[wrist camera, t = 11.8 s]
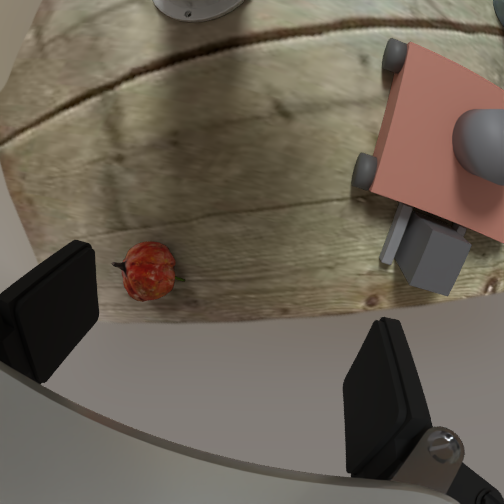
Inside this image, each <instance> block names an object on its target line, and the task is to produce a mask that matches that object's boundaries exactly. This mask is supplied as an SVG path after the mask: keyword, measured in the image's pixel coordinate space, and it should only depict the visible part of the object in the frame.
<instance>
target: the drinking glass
mask: <svg viewBox="0 0 504 504" xmlns="http://www.w3.org/2000/svg"><path fill="white" fill-rule="evenodd" d="M493 5H494V9H495V12H496V14H497V17H498V18H499V20H500V22H501V24H502V25H503V27H504V0H493Z"/></svg>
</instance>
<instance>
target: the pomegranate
mask: <svg viewBox="0 0 504 504" xmlns="http://www.w3.org/2000/svg"><path fill="white" fill-rule="evenodd" d="M175 263H176V262H175V259H174V257H173V256H172V254H171V253H170V251H169V249H168V248H167V247H166V246H165V245H163V244H161V243H158V242H153V241H149V242H142V243H138V244H136V245H135V246H133V247H132V248H131V249H130V250H129V251H128V253H127V255H126V258H125V259H124V260H123V262H122V263H116V262H113V263H111V264H112V265H113V266H115V267H118V268H120V269H121V270H122V276H123V283H124V287H125V289H126V290H127V292H128V294H129V296H130V297H132V298H133V299H135V300H137V301H142V302H143V301H147V300H154V299H158V298H161V297H163V296H165V295H166V294H167V293H169V292H170V291H171V290H172V289H173V286H174V281H175V279H177V280H180V281H185V279H182V278H178V277H176V276H175V272H174V266H175Z"/></svg>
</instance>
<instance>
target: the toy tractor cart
mask: <svg viewBox="0 0 504 504" xmlns="http://www.w3.org/2000/svg"><path fill="white" fill-rule="evenodd" d="M382 68H383V69H386V70H389V71H392V72H394V77H393V81H392V86H391V90H390V94H389V98H388V102H387V106H386V110H385V114H384V118H383V121H382V125H381V129H380V132H379V136H378V140H377V143H376V147H375V150H374V154H373V156H371V155H368V154H365V153H362V152H361V153H360V154H359V156H358V158H357V161H356V164H355V167H354V170H353V175H352V182H351V183H352V186H355V187H358V188H361V189H364V190H370V191H371V192H373V193H376V194H379V195H382V196H385V197H388V198H391V199H394V200H397V201H399V205H398V208H397V211H396V214H395V216H394V219H393V222H392V225H391V227H390V230H389V233H388V236H387V238H386V241H385V243H384V246H383V249H382V251H381V254H380V256H379V258H380V260H381V262H383V263H386V264H389V265H391V263H392V261H393V259H394V256H395V254H396V251H397V249H398V246H399V244H400V241H401V239H402V236H403V233H404V231H405V228H406V226H407V223H408V220H409V217H410V215H411V212H412V209H413V207H416V208H419V209H421V210H424V211H427V212H429V213H432V214H435V215H437V216H440V217H442V218H445V219H447V220H450V221H452V222H454V224H453V226H452V228H453V229H454V230H455V231H456V232H458V233H459V234H460V235H461V236H462V237H464V235H465V232H466V230H467V229H466V228H465V227H467V228H469V229H472V230H474V231H476V232H479V233H481V234H483V235H486V236H488V237H490V238H493V239H495V240H497V241H499V242H501V243H503V244H504V90H503V89H501V88H499V87H498V86H496V85H495V84H493V83H491V82H490V81H488V80H486V79H485V78H483V77H481V76H479V75H478V74H476V73H474V72H472V71H470V70H469V69H467V68H465V67H463V66H461V65H459V64H457V63H455V62H453V61H451V60H449V59H447V58H445V57H443V56H441V55H439V54H437V53H435V52H433V51H430V50H428V49H426V48H424V47H421V46H419V45H417V44H414V43H412V42H409V43H408V44H406V43H403V42H401V41H398V40H396V39H393V38H390V39H389V41H388V43H387V45H386V48H385V51H384V55H383V60H382ZM410 205H411V206H413V207H411V206H410ZM464 226H465V227H464Z"/></svg>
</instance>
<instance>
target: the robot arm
mask: <svg viewBox="0 0 504 504" xmlns="http://www.w3.org/2000/svg"><path fill="white" fill-rule="evenodd" d="M243 1H244V0H153V2H154V4H155V6H156V7H157V8H158V9H159V10H160V11H161V12H163V13H164V14H166V15H167V16H169V17H171V18H173V19H176V20H179V21H184V22H203V21H208V20H212V19H215V18H218V17H221V16H223V15H225V14H227V13H229V12H231V11H232V10H234V9H235V8H236V7H238V6H239V5H241V4H242V2H243ZM191 14H192V15H191ZM189 15H191V16H190V17H189ZM98 317H99V306H98V295H97V281H96V265H95V251H94V250H93V249H92V247H91V245H90V244H89V243H86V242H82V241H79V240H73V241H72V242H70V243H69V244H67V245H66V246H64V247H63V248H62V249H60V250H59V251H57V252H56V253H54V254H53V255H52V256H50V257H49V258H47V259H46V260H44V261H43V262H42V263H40V264H39V265H38V266H36V267H35V268H33V269H32V270H31V271H29V272H28V273H27V274H25V275H24V276H23V277H21V278H20V279H19V280H18V281H16V282H15V283H13V284H12V285H11V286H10V287H8V288H7V289H6V290H4V291H3V292H2V293H1V294H0V504H504V499H503V498H502V495H501V493H500V492H499V491H498V490H497V489H496V488H494V487H493V486H492V485H491V484H489V483H488V482H487V481H485V480H484V479H483V478H482V477H480V476H479V475H478V474H476V473H475V472H474V471H473V470H471V469H470V468H469V467H468V466H466V465H465V464H464V463H462V461H463V459H464V455H465V450H464V445H463V443H462V441H461V439H460V438H459V437H458V435H457V434H456V433H454V432H453V431H452V430H450V429H448V428H445V427H441V426H439V427H433V426H432V423H431V417H430V414H429V410H428V407H427V403H426V399H425V396H424V393H423V389H422V386H421V383H420V379H419V376H418V373H417V370H416V367H415V364H414V361H413V358H412V355H411V351H410V348H409V346H408V343H407V340H406V337H405V334H404V331H403V329H402V326H401V323H400V321H399V320H396V319H391V318H386V317H382V318H381V319H380V320H379V321H378V320H376V321H374V323H373V325H372V326H371V329H370V331H369V333H368V335H367V337H366V339H365V341H364V343H363V345H362V347H361V349H360V351H359V353H358V355H357V357H356V358H355V360H354V362H353V364H352V366H351V368H350V370H349V372H348V374H347V375H346V377H345V380H344V383H343V399H344V400H343V401H344V419H345V441H346V471H347V473H351V477H340V476H330V475H321V474H314V473H306V472H300V471H292V470H286V469H280V468H274V467H269V466H263V465H258V464H253V463H249V462H244V461H239V460H235V459H231V458H227V457H223V456H219V455H215V454H211V453H208V452H204V451H200V450H197V449H193V448H190V447H187V446H183V445H180V444H177V443H174V442H171V441H168V440H165V439H161V438H159V437H156V436H153V435H150V434H148V433H145V432H142V431H139V430H137V429H134V428H132V427H129V426H127V425H124V424H122V423H119V422H116V421H114V420H112V419H110V418H107V417H105V416H103V415H100V414H98V413H96V412H94V411H91V410H89V409H87V408H85V407H83V406H81V405H79V404H77V403H75V402H73V401H70V400H68V399H66V398H64V397H62V396H60V395H59V394H57V393H55V392H53V391H51V390H49V389H47V388H46V387H43V386H42V385H40V384H41V383H45V382H46V381H47V380H48V379H49V378H50V377H51V376H52V374H53V373H54V372H55V371H56V369H57V368H58V367H59V365H60V364H61V363H62V362H63V361H64V360H65V358H66V357H67V356H68V355H69V354H70V352H71V351H72V350H73V349H74V347H75V346H76V345H77V344H78V343H79V342H80V341H81V339H82V338H83V337H84V336H85V335H86V333H87V332H88V331H89V330H90V329H91V328H92V327H93V325H94V324H95V323H96V322H97V320H98Z"/></svg>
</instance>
